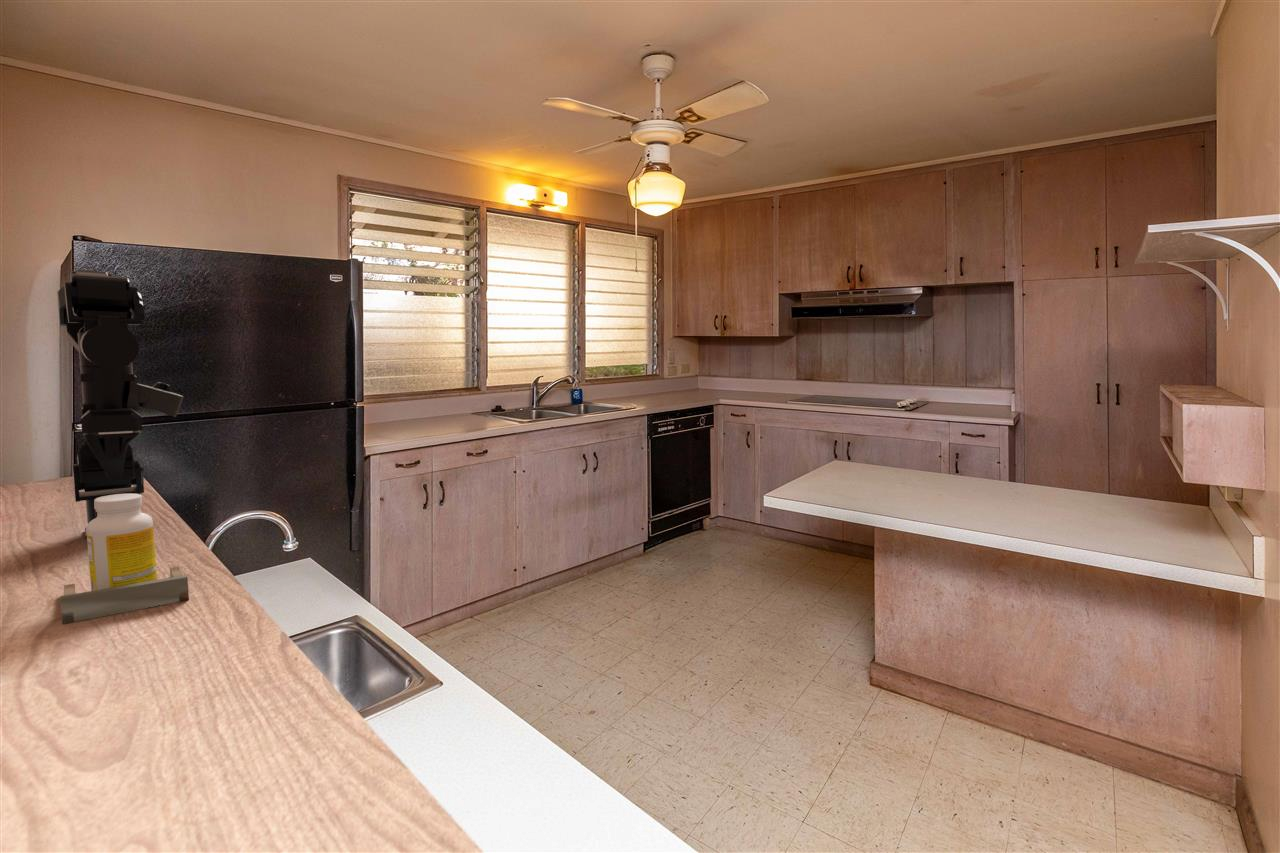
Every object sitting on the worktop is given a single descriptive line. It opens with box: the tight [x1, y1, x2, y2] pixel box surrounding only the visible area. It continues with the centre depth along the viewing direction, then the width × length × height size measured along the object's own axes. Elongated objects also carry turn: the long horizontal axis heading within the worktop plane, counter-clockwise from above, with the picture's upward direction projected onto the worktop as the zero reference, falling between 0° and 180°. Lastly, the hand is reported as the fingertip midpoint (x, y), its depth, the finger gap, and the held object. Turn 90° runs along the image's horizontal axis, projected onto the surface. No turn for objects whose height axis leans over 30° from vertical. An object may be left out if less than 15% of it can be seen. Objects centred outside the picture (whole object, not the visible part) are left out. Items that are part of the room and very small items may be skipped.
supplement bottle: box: [85, 494, 158, 591], centre depth 83 cm, size 7×7×13 cm
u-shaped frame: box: [59, 566, 190, 625], centre depth 83 cm, size 11×12×3 cm
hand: (114, 475), depth 93 cm, fingers open, 9 cm apart
